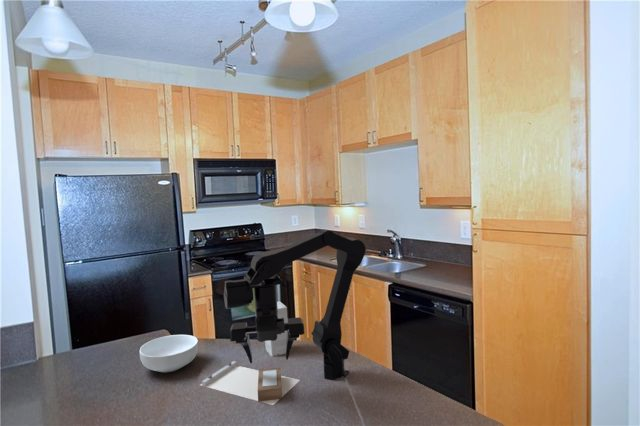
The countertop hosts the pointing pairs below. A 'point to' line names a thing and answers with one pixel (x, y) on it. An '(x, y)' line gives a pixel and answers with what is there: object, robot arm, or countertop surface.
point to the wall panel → (242, 382)
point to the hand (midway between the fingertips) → (269, 360)
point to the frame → (269, 384)
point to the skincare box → (280, 343)
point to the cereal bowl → (169, 352)
